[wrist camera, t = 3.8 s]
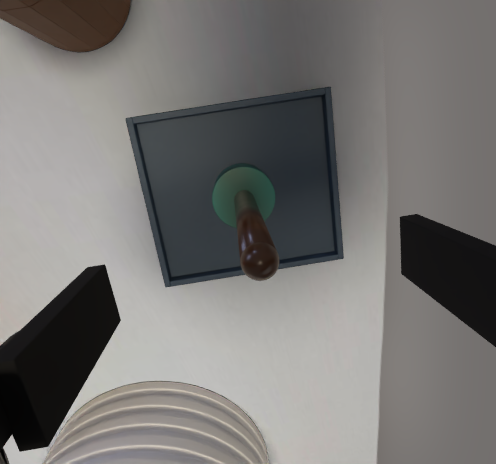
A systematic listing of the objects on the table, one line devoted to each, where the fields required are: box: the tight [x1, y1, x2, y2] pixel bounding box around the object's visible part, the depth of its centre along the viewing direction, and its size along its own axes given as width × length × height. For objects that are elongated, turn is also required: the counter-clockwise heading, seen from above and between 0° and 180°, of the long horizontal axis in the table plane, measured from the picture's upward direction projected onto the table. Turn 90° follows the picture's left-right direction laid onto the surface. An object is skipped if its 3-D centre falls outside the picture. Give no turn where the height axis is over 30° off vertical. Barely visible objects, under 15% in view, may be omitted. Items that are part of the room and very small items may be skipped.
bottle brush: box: [212, 163, 279, 281], centre depth 25 cm, size 6×6×21 cm
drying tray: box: [126, 87, 344, 287], centre depth 35 cm, size 19×17×2 cm
